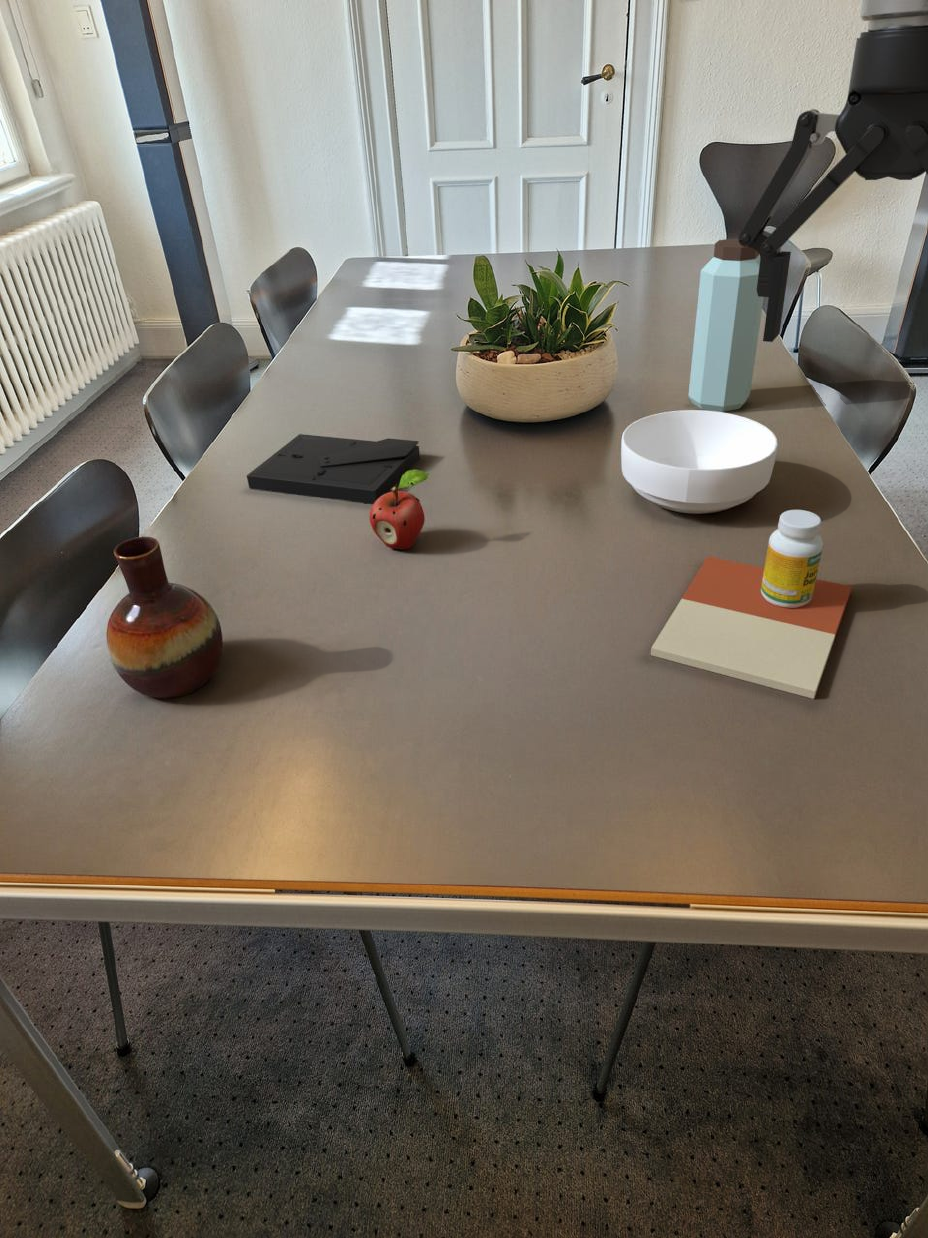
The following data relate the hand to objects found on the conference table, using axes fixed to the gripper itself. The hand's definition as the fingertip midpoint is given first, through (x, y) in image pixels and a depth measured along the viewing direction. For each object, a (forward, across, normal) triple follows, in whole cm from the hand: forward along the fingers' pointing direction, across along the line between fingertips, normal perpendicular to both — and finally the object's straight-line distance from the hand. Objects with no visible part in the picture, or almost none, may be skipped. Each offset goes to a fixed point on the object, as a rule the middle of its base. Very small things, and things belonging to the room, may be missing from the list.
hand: (857, 344), depth 68 cm
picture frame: (+30, +70, -17) cm, 78 cm away
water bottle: (+29, +26, -65) cm, 76 cm away
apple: (+30, +49, -3) cm, 58 cm away
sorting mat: (+31, +5, -4) cm, 32 cm away
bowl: (+30, +20, -30) cm, 47 cm away
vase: (+31, +56, +30) cm, 71 cm away
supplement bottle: (+30, +3, -9) cm, 32 cm away
